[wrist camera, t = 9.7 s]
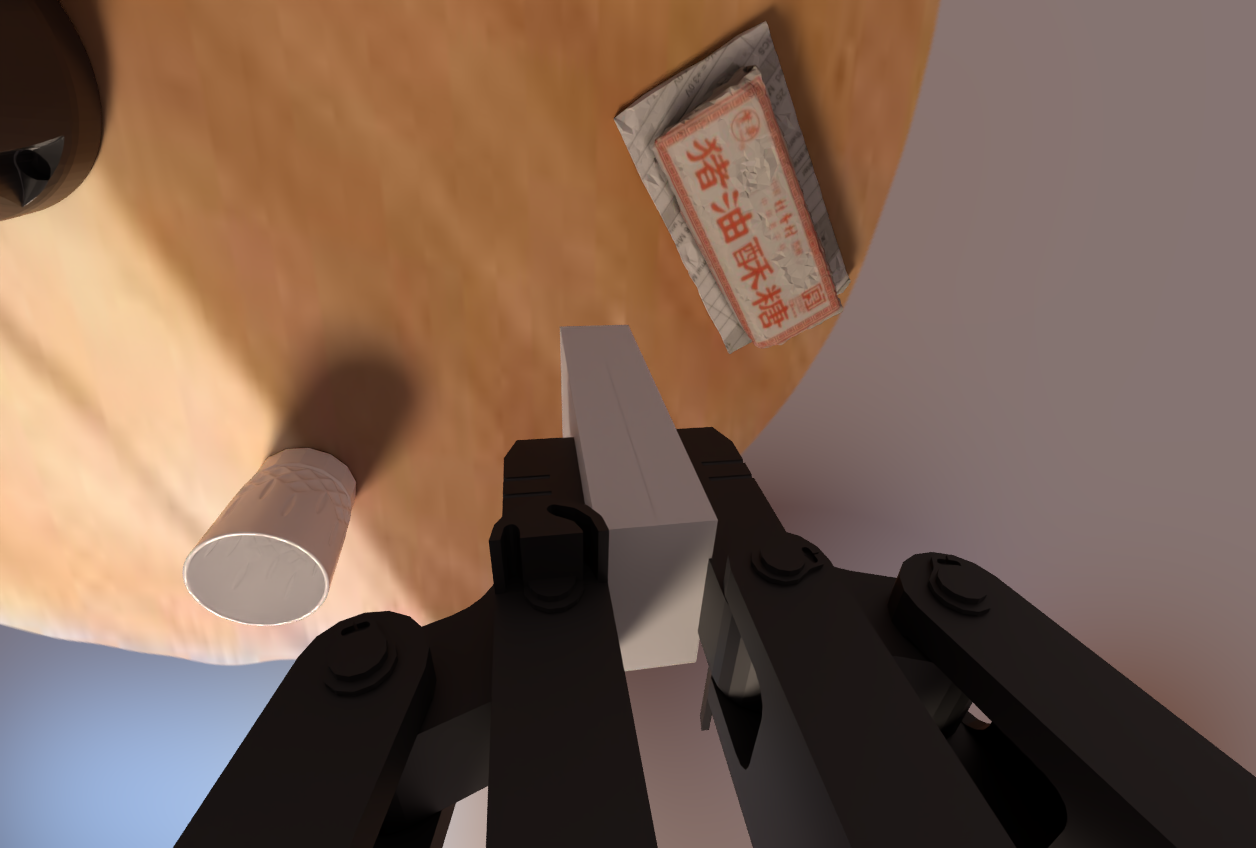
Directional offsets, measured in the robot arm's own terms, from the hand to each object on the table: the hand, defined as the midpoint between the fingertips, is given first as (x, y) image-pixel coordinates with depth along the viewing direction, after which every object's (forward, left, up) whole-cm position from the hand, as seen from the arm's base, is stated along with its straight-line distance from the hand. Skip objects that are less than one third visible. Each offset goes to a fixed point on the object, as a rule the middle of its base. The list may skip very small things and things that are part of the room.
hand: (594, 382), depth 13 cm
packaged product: (+13, -1, -27) cm, 30 cm away
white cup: (-19, -21, -27) cm, 38 cm away
